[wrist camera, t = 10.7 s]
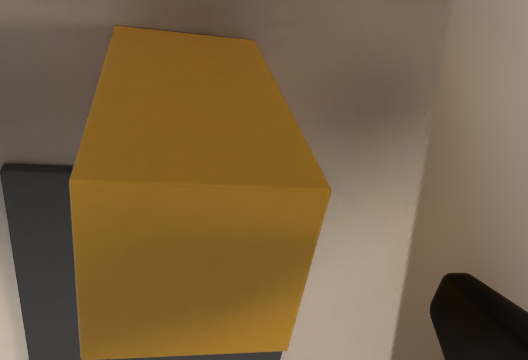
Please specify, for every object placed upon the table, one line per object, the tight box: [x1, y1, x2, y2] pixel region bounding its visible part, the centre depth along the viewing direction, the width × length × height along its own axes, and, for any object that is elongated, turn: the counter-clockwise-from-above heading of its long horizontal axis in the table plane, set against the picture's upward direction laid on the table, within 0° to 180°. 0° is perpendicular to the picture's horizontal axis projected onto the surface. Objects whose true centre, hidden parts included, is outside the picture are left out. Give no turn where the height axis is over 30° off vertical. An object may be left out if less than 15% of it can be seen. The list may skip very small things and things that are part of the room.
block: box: [69, 26, 331, 360], centre depth 13 cm, size 4×4×9 cm
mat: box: [0, 164, 282, 360], centre depth 22 cm, size 12×16×1 cm
